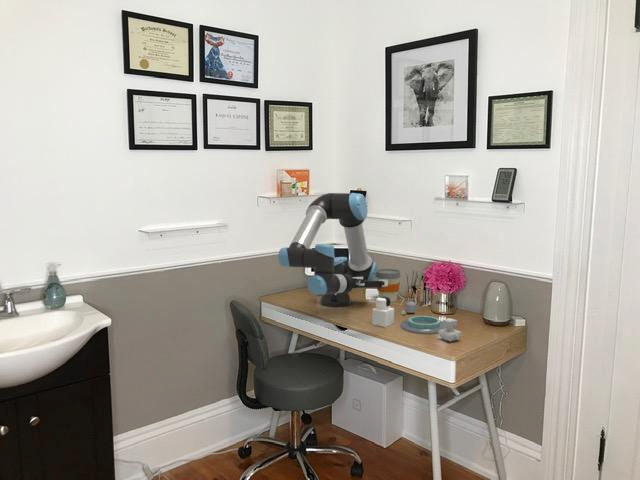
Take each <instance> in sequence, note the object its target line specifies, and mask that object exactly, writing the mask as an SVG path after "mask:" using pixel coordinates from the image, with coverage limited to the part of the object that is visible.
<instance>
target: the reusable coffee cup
mask: <svg viewBox="0 0 640 480" xmlns="http://www.w3.org/2000/svg"><path fill="white" fill-rule="evenodd" d="M375 278H376V281H377V280H386V279H387V280H388V286H382V287H381V288H380V287H379V289H378V287H376V290H377V292H378V297H388V298H390V303H391V302H396V301H397V299H398V292H399V290H400V279H401V271H400V270H399V269H393V268H380V269H377V270H376V277H375Z"/></svg>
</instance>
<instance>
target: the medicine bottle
mask: <svg viewBox="0 0 640 480" xmlns="http://www.w3.org/2000/svg"><path fill="white" fill-rule="evenodd" d="M375 299H376V301H375V302H376V303H375V307H374V308H372V309H371V325H373V326H378V327H382V328H387V327H389V326H392V325H394V324H395V308H394V307H391V302H390V298H388V297H379V296H377V297H376V298H375Z"/></svg>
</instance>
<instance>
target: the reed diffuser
mask: <svg viewBox="0 0 640 480" xmlns="http://www.w3.org/2000/svg"><path fill="white" fill-rule="evenodd" d="M414 273H416V274H415V277H412V278H411V283H413V281H414V283H413V284H411V287H410V286H409V285H407V291H408V292H409V294H408V301H407V302H406V303H405V306H404V307H405V310H404V309H402V311H401V313H400V314H401V315H402V316H404V315H407V313H410V314H411V313H416V307H417V305H416V302H414V301H413V300H414V298H413V295H414V290H415V287H416V283H417V280H418V277H419V274H418V272H415V271H414V270H413V271H412V276H414ZM406 275H408V273H406ZM414 278H415V279H414ZM406 280H407V284H409V279H408V277H406ZM409 287H410V288H409ZM412 288H413V289H412ZM410 290H411V291H410Z"/></svg>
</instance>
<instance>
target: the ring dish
mask: <svg viewBox="0 0 640 480" xmlns="http://www.w3.org/2000/svg"><path fill="white" fill-rule="evenodd" d="M400 328H401V329H402V330H404V331H406V332H409V333H413V334H418V335H420V334H421V335H436V334H437V335H439V334H438V331H439V330H442V329H447V326H446V325H444V323H443V320H441V319H439V318H438V317H435V316H432V315H431V316H430V315H429V316H428V315H414V316H410V317H409V318H408V319H404V320H403V321H401V323H400Z"/></svg>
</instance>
